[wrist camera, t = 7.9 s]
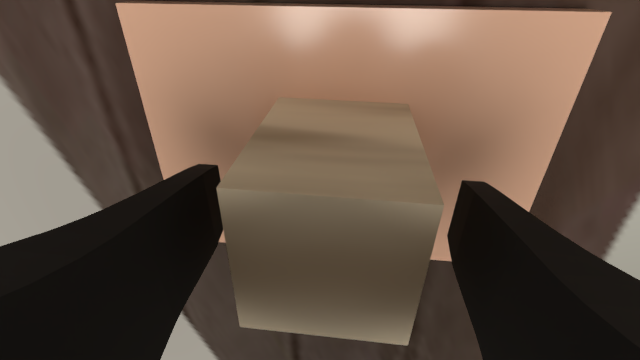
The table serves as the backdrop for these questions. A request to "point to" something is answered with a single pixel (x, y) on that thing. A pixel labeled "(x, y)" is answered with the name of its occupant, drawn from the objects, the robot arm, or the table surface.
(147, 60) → the terracotta tile
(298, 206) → the maple block
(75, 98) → the table surface
